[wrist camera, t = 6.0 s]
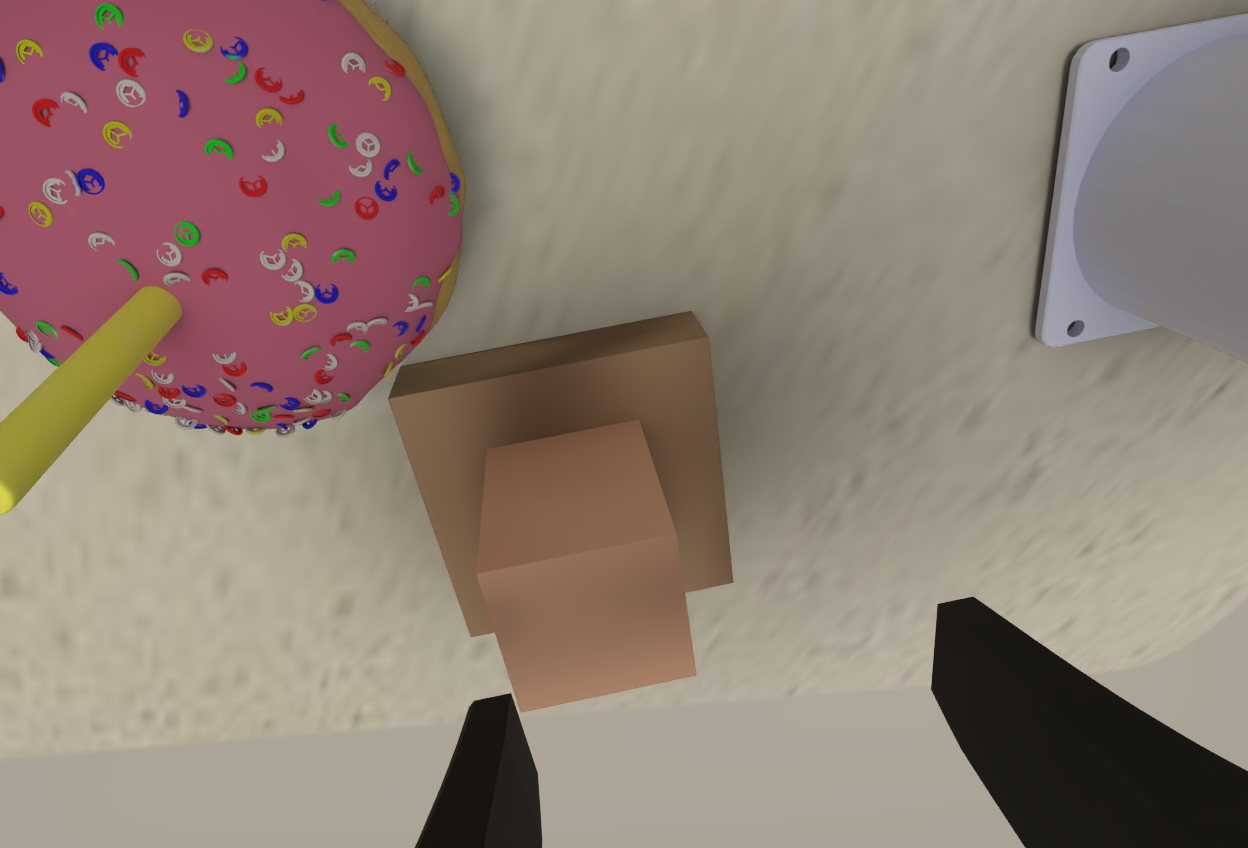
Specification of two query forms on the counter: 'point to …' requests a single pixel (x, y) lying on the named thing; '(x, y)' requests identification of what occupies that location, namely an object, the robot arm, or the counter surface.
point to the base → (564, 403)
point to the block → (582, 567)
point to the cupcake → (214, 212)
